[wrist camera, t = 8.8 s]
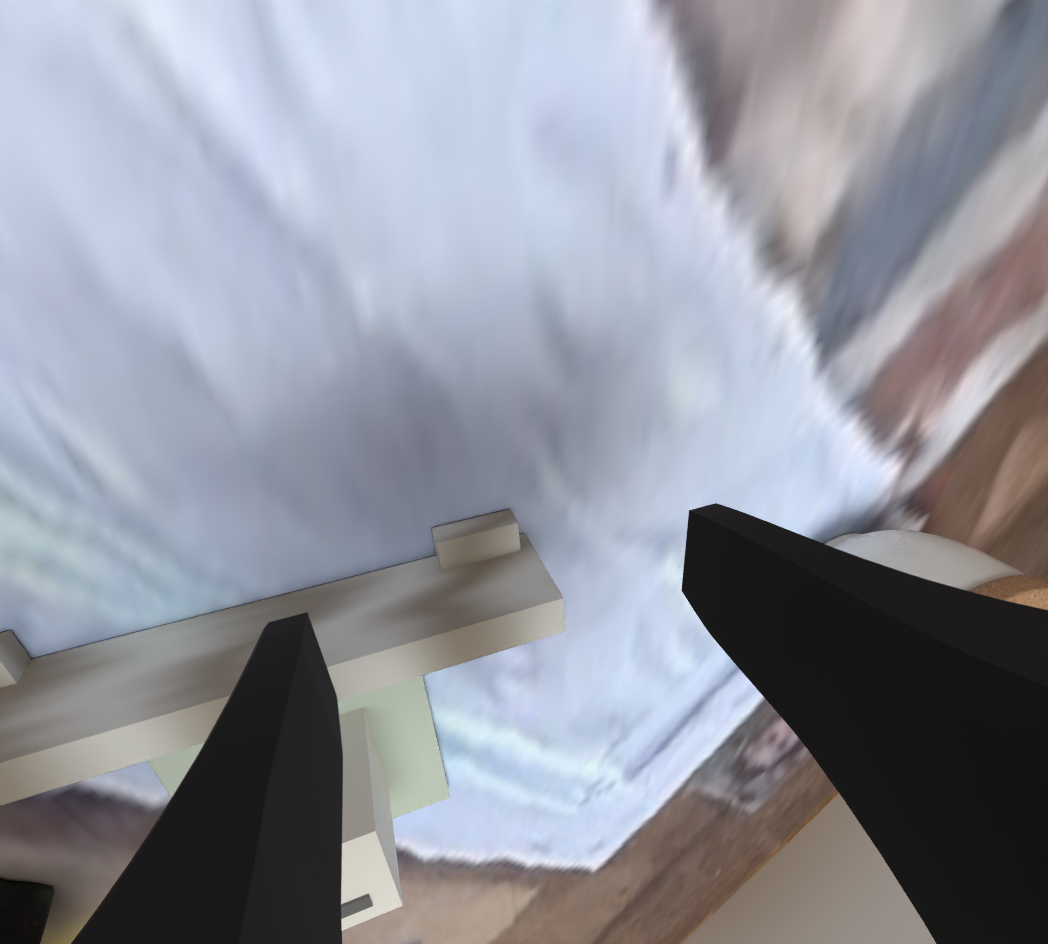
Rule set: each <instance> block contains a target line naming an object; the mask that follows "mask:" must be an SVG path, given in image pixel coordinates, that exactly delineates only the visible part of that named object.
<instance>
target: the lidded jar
mask: <svg viewBox="0 0 1048 944" xmlns="http://www.w3.org/2000/svg"><path fill="white" fill-rule="evenodd" d="M824 544H825V545H828V546H831V547H833V548H836V549H839V550H841V551H844V552H847V553H850V554H852V555H855V556H858V557H861V558H863V559H866V560H869V561H872V562H875V563H878V564H881V565H884V566H887V567H890V568H893V569H896V570H899V571H902V572H905V573H908V574H911V575H914V576H918V577H921V578H924V579H927V580H931V581H934V582H938V583H941V584H945V585H948V586H952V587H956V588H959V589H963V590H966V591H970V592H973V593H977V594H981V595H985V596H989V597H993V598H997V599H1001V600H1005V601H1009V602H1013V603H1018V604H1022V605H1027V606H1031V607H1036V608H1040V609H1045V610H1048V583H1046V582H1044V581H1042V580H1040V579H1038V578H1036V577H1034V576H1028V575H1026V574H1024V573H1022V572H1020V571H1018V570H1017V569H1015V568H1013V567H1011V566H1009V565H1007V564H1005V563H1003V562H1001V561H999V560H997V559H995V558H993V557H991V556H989V555H987V554H986V553H984V552H981V551H979V550H977V549H974V548H972V547H969V546H967V545H965V544H962V543H960V542H957V541H954V540H951V539H947V538H944V537H941V536H938V535H933V534H928V533H922V532H917V531H911V530H884V531H876V532H870V533H866V534H859V533H849V534H844V535H841V536H838V537H835V538H833V539H831V540H829V541H827V542H826V543H824Z"/></svg>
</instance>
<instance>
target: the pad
mask: <svg viewBox="0 0 1048 944" xmlns="http://www.w3.org/2000/svg"><path fill="white" fill-rule="evenodd" d="M363 707H364V709H365V712H366V716H367V719H368V722H369V725H370V728H371V731H372V734H373V738H374V741H375V744H376V747H377V750H378V753H379V756H380V759H381V763H382V766H383V769H384V772H385V775H386V778H387V781H388V790H389V798H390V806H391V814H392V819H393V818H396V817H398V816H401V815H404V814H407V813H409V812H412V811H415V810H417V809H420V808H423V807H425V806H428V805H431V804H434V803H436V802H439V801H442V800H444V799H447V798H450V794H449V790H448V785H447V781H446V776H445V772H444V768H443V763H442V759H441V755H440V750H439V746H438V742H437V737H436V733H435V729H434V724H433V720H432V716H431V712H430V707H429V703H428V699H427V694H426V690H425V686H424V681H423V677H422V676H418V677H415V678H412V679H409V680H405V681H402V682H399V683H396V684H393V685H389V686H386V687H383V688H380V689H376V690H373V691H370V692H367V693H363V694H360V695H357V696H354V697H350V698H347V699H344V700H341V701H338V710H339V715H341V714H344V713H347V712H350V711H354V710H357V709H360V708H363ZM203 745H204V743H202V744H198V745H195V746H192V747H189V748H185V749H182V750H179V751H176V752H172V753H169V754H166V755H163V756H159V757H156V758H153V759H150V760H147V762H148V763H149V765H150V766H151V768H152V769H153V771H154V772H155V774H156V775H157V777H158V778H159V780H160V781H161V783H162V784H163V786H164V787H165V789H166V790H167V792H168V793H169V795H170V796H171V798H172V796H173V795H174V793H175V791H176V790H177V788H178V787H179V785H180V783H181V782H182V780H183V778H184V777H185V775H186V773H187V772H188V770H189V768H190V767H191V765H192V764H193V762H194V760H195V759H196V757H197V755H198V754H199V752H200V750H201V748H202V747H203Z"/></svg>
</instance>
